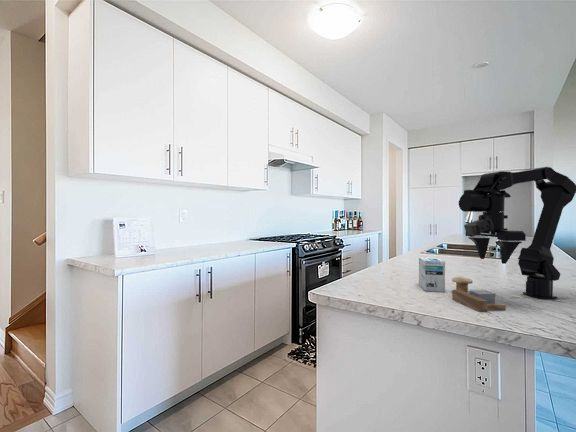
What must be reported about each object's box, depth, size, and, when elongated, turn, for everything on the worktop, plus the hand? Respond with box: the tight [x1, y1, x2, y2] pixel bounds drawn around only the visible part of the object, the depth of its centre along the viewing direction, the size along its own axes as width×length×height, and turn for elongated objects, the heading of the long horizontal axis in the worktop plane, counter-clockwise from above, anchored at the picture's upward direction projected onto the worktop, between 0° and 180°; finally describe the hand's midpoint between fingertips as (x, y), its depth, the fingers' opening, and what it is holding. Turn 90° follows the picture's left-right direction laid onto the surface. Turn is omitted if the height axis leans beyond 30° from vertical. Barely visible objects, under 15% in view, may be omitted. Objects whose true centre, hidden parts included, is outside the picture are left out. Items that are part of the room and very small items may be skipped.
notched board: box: [451, 289, 507, 313], centre depth 90 cm, size 8×12×3 cm
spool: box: [451, 276, 473, 294], centre depth 102 cm, size 6×6×5 cm
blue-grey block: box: [469, 289, 496, 304], centre depth 90 cm, size 5×4×4 cm
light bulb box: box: [418, 256, 446, 293], centre depth 110 cm, size 11×7×11 cm, turn 168°
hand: (492, 261), depth 97 cm, fingers open, 9 cm apart
